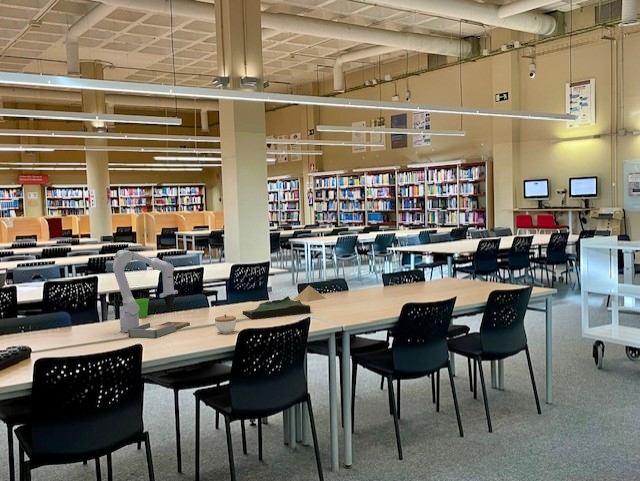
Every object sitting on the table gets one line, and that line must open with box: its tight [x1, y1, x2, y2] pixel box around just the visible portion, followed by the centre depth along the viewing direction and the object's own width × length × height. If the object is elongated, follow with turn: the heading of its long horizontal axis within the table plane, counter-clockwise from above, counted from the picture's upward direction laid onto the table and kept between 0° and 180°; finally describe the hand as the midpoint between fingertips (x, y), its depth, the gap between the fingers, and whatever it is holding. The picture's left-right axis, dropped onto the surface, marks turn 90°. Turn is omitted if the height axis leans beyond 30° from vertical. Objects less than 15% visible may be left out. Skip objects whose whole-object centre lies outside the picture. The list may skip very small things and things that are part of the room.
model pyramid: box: [292, 285, 327, 303], centre depth 412 cm, size 17×17×10 cm
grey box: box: [127, 322, 177, 339], centre depth 315 cm, size 17×17×4 cm
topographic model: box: [242, 295, 312, 320], centre depth 360 cm, size 36×22×10 cm, turn 111°
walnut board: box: [158, 321, 191, 331], centre depth 330 cm, size 14×16×2 cm
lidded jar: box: [214, 313, 237, 335], centre depth 311 cm, size 11×11×9 cm
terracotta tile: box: [150, 324, 166, 329], centre depth 320 cm, size 6×6×2 cm
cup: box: [135, 298, 150, 319], centre depth 365 cm, size 9×9×11 cm
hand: (169, 308), depth 338 cm, fingers closed
